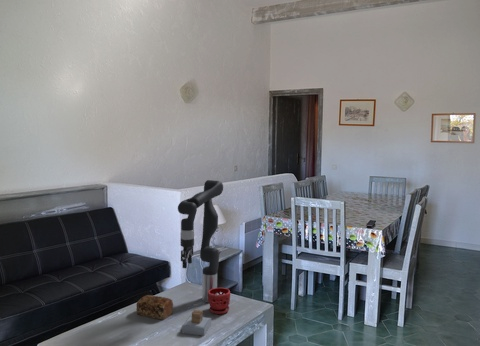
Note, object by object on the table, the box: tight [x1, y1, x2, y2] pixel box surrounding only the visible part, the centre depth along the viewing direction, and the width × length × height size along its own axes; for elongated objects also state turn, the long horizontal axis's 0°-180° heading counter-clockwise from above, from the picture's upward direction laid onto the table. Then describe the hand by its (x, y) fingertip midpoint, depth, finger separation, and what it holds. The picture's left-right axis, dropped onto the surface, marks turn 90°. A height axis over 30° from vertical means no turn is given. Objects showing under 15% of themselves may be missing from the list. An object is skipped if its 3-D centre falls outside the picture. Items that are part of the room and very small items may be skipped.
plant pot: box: [208, 287, 231, 315], centre depth 229 cm, size 13×13×12 cm
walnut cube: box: [191, 309, 204, 324], centre depth 206 cm, size 4×4×5 cm
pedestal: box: [181, 315, 212, 337], centre depth 206 cm, size 12×12×4 cm
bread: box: [135, 294, 174, 321], centre depth 223 cm, size 19×11×10 cm, turn 66°
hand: (187, 265), depth 219 cm, fingers open, 8 cm apart
